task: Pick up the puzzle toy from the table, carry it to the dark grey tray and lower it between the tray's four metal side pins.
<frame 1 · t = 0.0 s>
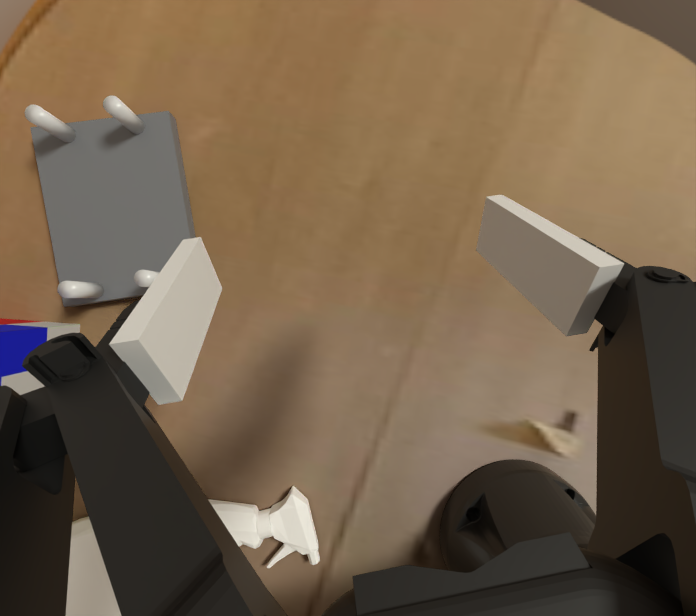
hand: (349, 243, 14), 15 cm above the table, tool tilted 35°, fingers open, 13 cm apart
puzzle toy: (24, 372, 28), on the table
pin tray: (125, 212, 28), on the table
spray bottle: (192, 538, 30), on the table
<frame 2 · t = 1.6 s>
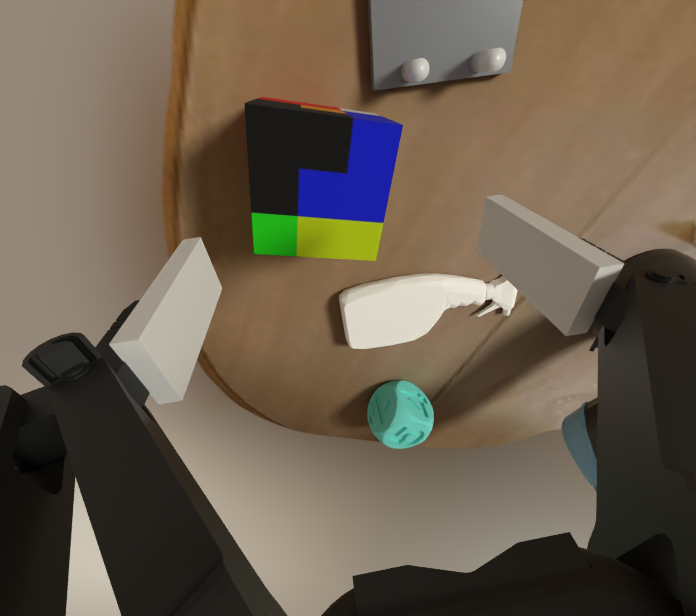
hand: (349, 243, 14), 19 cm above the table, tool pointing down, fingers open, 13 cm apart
puzzle toy: (316, 165, 30), on the table
decorative dice: (393, 393, 54), on the table
spray bottle: (426, 299, 42), on the table
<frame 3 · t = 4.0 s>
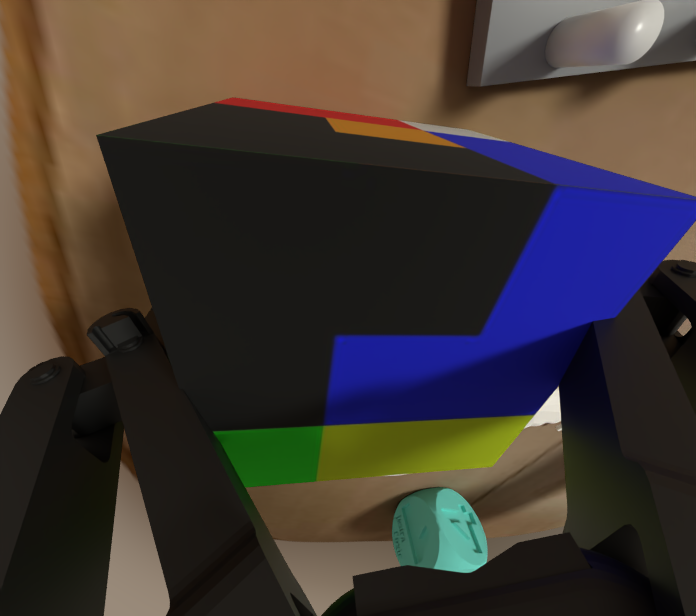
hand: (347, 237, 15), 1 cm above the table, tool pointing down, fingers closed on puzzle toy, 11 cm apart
puzzle toy: (344, 227, 16), on the table, touching gripper
decorative dice: (426, 498, 40), on the table
spray bottle: (491, 406, 29), on the table
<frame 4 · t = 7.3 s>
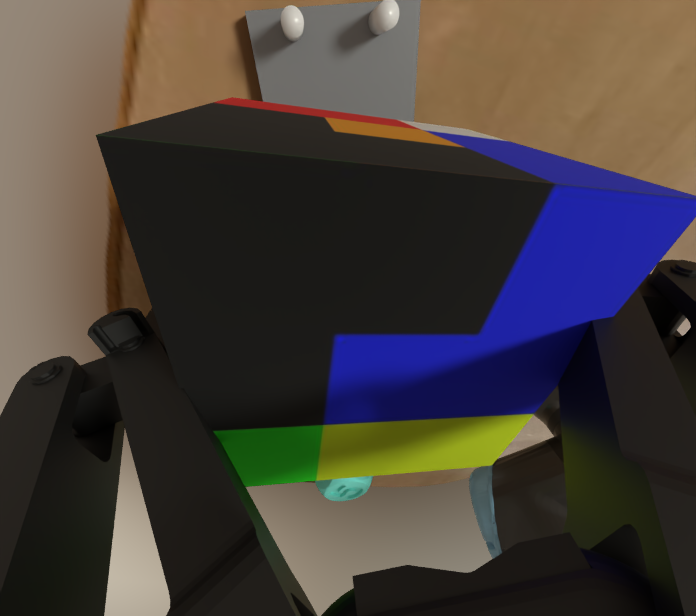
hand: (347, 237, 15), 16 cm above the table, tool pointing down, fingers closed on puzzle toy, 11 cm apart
puzzle toy: (344, 227, 16), point 15 cm above the table, touching gripper
pin tray: (341, 136, 26), on the table
decorative dice: (340, 445, 58), on the table
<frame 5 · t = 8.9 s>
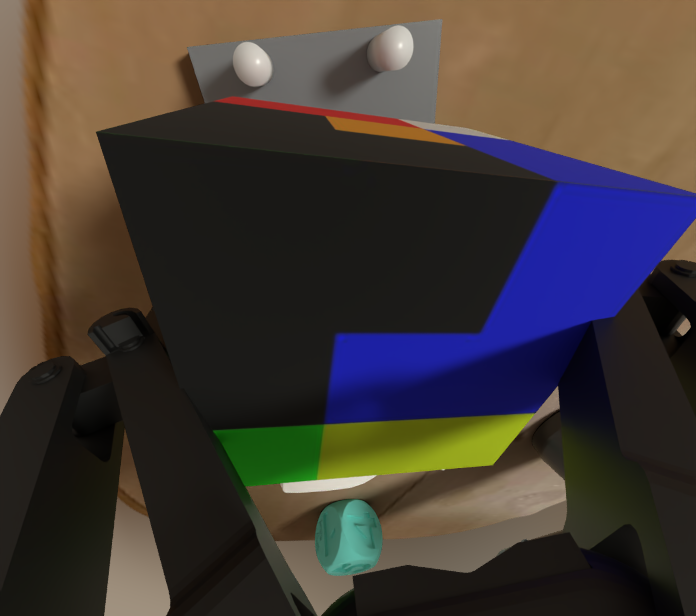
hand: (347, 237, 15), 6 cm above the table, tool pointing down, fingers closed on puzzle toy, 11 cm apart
puzzle toy: (344, 226, 16), point 5 cm above the table, touching gripper
pin tray: (335, 198, 20), on the table
decorative dice: (345, 507, 52), on the table
spray bottle: (370, 448, 42), on the table
when the fingers open (3 cm above the table, at t = 10.4 s): puzzle toy drops 1 cm, resting on pin tray.
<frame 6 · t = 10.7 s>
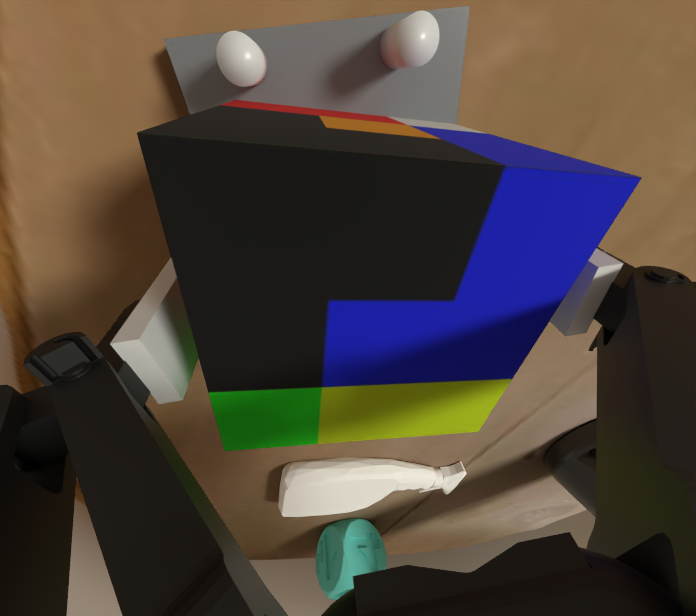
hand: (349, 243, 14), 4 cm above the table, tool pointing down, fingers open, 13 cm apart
puzzle toy: (341, 218, 17), point 1 cm above the table, touching pin tray
pin tray: (339, 212, 18), on the table
decorative dice: (347, 526, 50), on the table
spray bottle: (374, 471, 40), on the table
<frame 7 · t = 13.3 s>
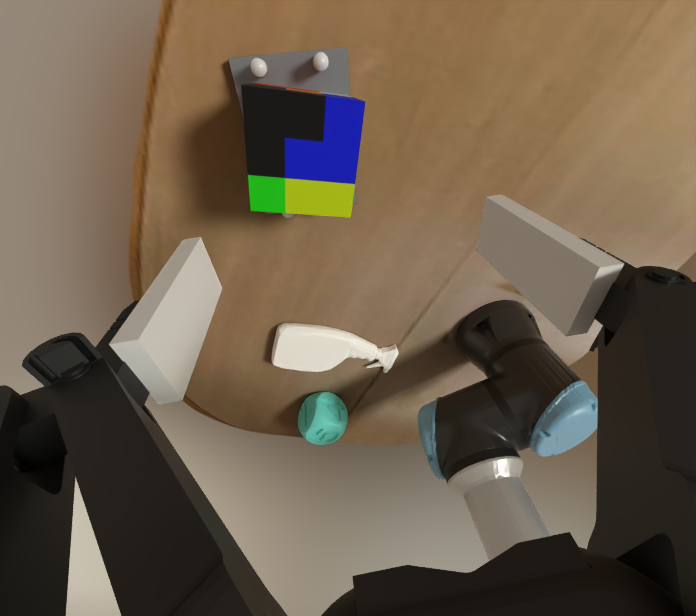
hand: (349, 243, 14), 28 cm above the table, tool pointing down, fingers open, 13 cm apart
puzzle toy: (301, 141, 35), point 1 cm above the table, touching pin tray
pin tray: (301, 140, 36), on the table
decorative dice: (321, 401, 69), on the table
spray bottle: (337, 346, 59), on the table
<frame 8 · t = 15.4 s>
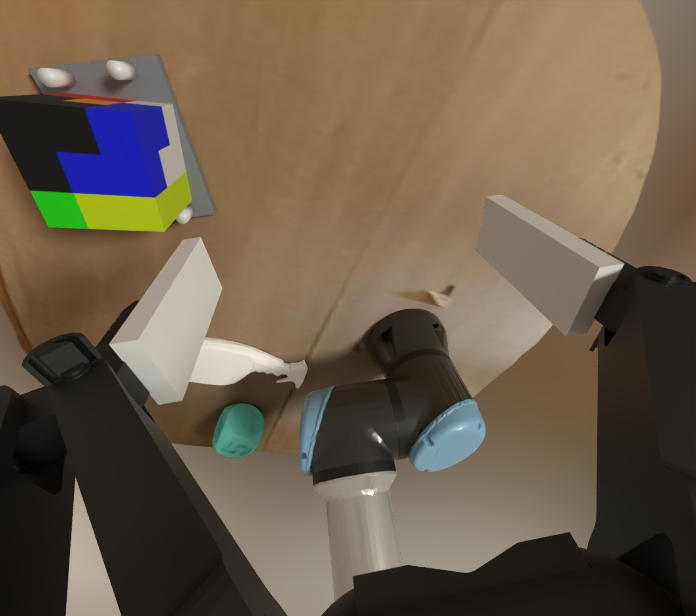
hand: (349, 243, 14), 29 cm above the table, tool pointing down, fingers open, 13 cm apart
puzzle toy: (136, 152, 34), point 1 cm above the table, touching pin tray
pin tray: (140, 150, 35), on the table
decorative dice: (241, 412, 67), on the table
spray bottle: (244, 359, 58), on the table
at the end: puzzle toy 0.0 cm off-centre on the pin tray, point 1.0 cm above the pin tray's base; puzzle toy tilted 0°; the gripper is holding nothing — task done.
